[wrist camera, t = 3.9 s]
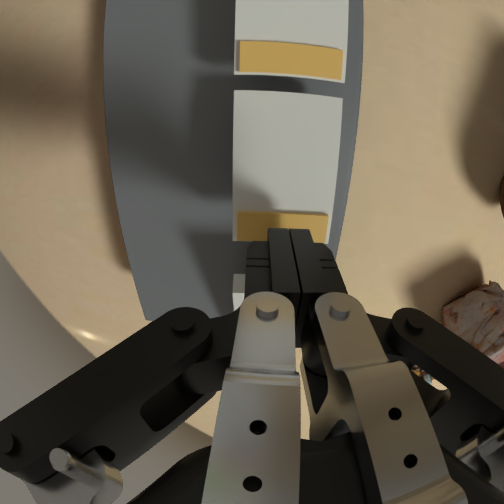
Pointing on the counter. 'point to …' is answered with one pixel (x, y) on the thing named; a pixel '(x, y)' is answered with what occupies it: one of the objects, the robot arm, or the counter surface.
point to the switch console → (193, 144)
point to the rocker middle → (284, 162)
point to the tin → (502, 196)
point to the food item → (479, 320)
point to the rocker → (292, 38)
